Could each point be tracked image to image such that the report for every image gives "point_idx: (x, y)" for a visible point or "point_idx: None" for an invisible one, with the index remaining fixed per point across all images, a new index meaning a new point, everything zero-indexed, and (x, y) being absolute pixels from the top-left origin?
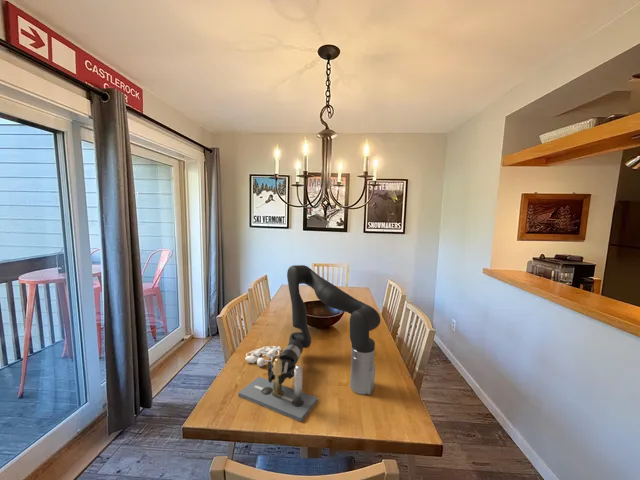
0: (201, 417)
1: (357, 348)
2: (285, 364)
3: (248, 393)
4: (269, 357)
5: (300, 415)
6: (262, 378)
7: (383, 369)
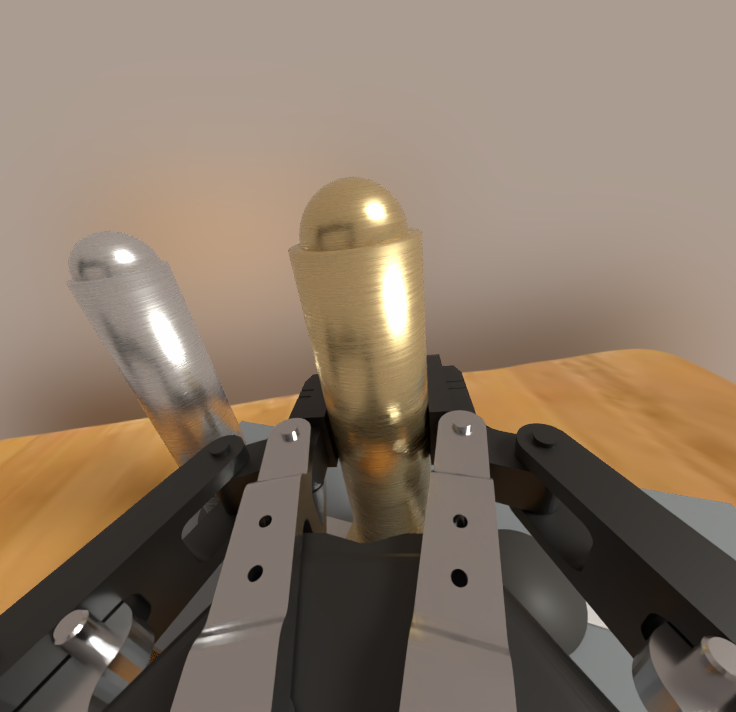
0: (666, 369)
1: None
2: (275, 611)
3: None
4: None
5: (242, 430)
6: None
7: None
